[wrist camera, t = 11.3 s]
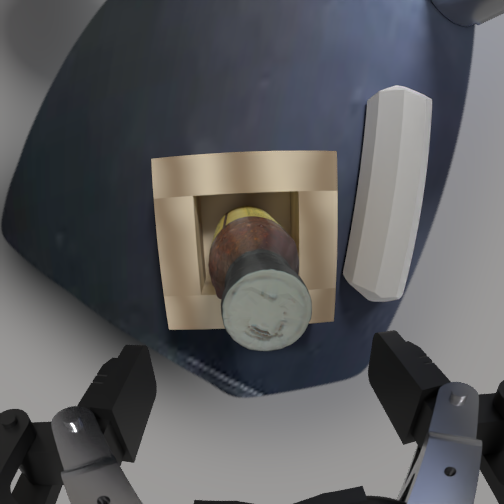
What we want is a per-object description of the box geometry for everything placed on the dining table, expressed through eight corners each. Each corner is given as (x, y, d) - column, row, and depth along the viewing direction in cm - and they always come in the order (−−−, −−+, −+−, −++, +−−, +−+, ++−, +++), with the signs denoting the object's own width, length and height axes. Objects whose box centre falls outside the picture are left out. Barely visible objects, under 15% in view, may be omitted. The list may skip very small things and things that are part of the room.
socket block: (319, 154, 32) (336, 151, 26) (319, 298, 36) (333, 321, 30) (166, 161, 32) (151, 158, 26) (179, 305, 36) (169, 329, 30)
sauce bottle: (241, 274, 34) (243, 400, 15) (203, 228, 33) (155, 311, 13) (291, 237, 33) (357, 327, 14) (254, 189, 32) (278, 218, 13)
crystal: (418, 307, 33) (451, 100, 27) (386, 319, 29) (422, 75, 23) (371, 286, 39) (398, 100, 33) (334, 293, 35) (364, 80, 29)
